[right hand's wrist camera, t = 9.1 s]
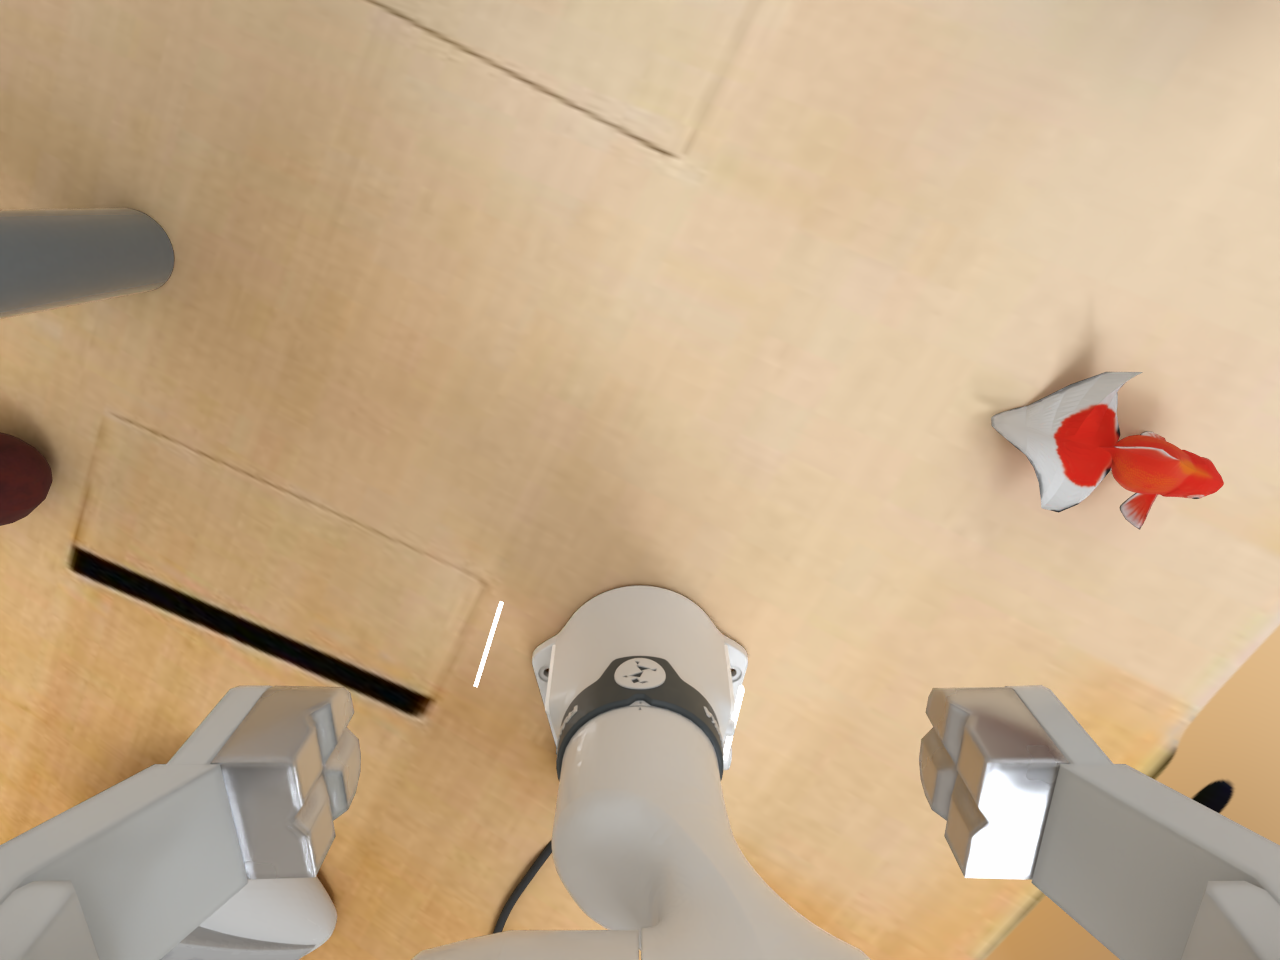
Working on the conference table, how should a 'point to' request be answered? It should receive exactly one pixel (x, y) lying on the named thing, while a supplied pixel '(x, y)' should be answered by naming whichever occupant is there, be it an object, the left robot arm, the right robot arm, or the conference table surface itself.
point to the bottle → (78, 257)
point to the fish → (1100, 450)
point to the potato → (21, 479)
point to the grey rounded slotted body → (264, 923)
